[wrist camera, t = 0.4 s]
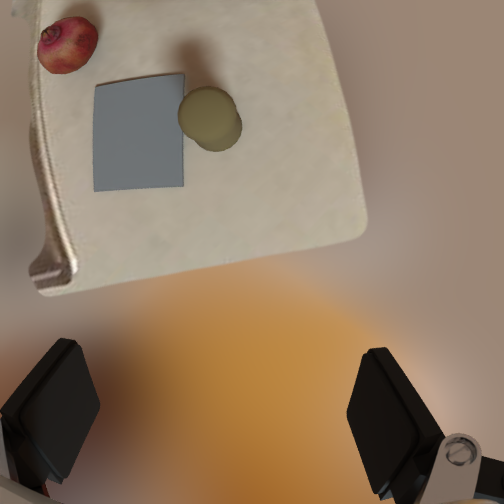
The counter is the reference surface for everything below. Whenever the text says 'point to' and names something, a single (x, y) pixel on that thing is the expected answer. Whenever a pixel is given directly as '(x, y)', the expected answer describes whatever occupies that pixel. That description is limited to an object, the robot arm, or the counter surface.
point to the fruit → (67, 45)
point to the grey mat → (138, 134)
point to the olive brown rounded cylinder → (210, 118)
